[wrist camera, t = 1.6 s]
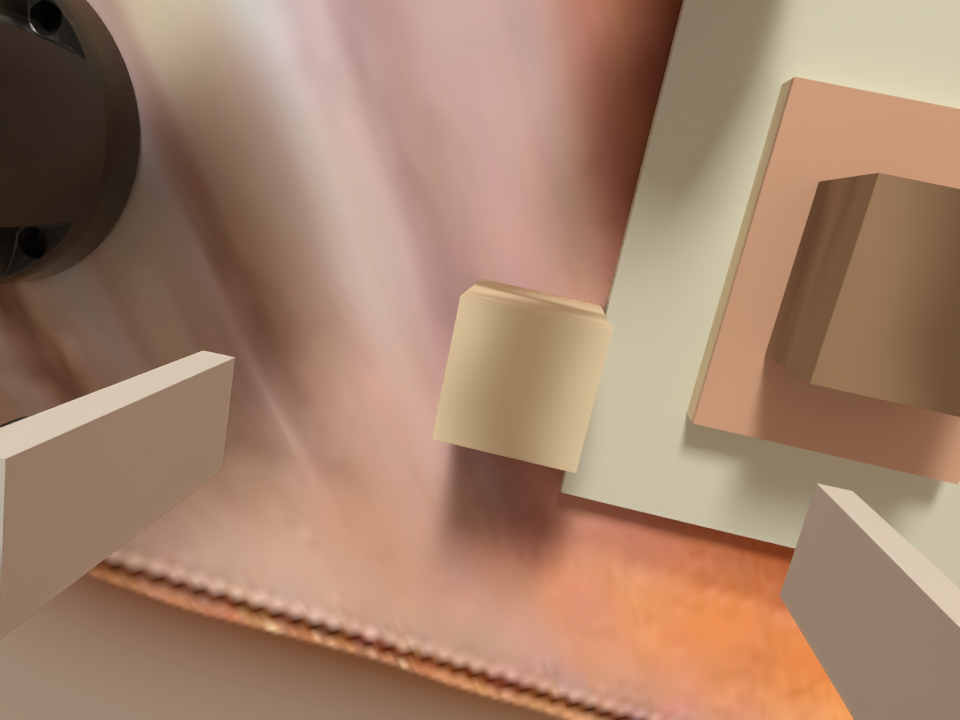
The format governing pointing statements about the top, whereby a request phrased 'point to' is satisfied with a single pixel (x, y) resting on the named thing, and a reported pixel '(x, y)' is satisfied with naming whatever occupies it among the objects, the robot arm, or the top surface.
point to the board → (769, 272)
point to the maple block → (522, 374)
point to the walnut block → (877, 293)
